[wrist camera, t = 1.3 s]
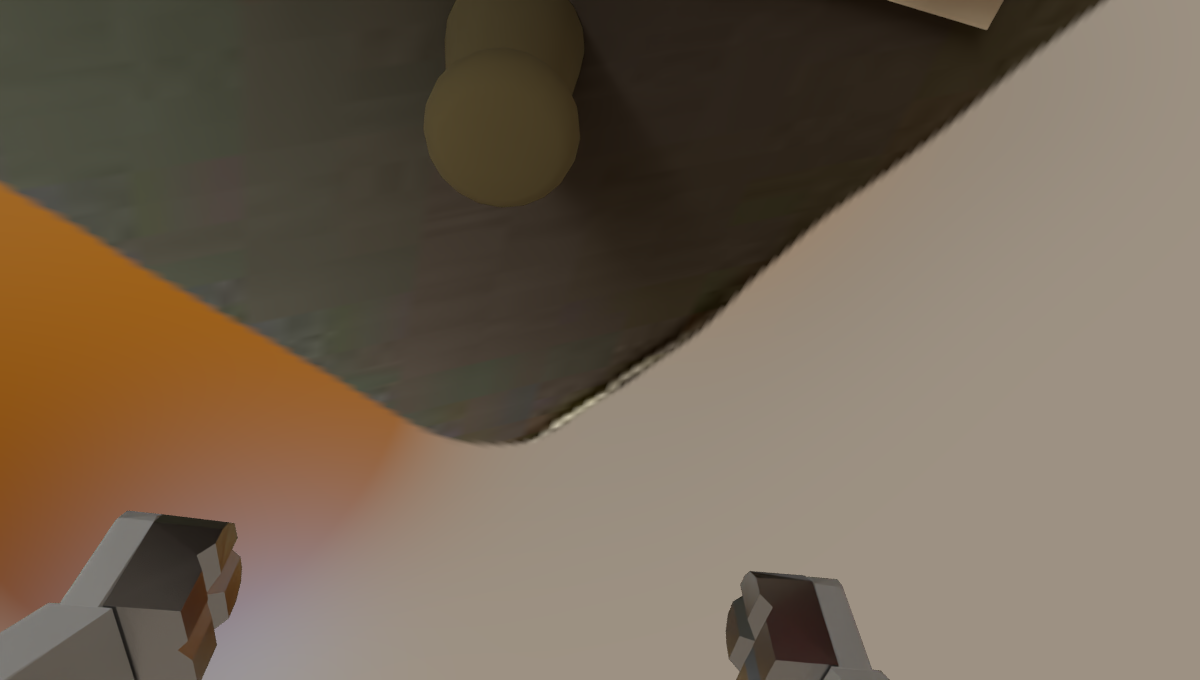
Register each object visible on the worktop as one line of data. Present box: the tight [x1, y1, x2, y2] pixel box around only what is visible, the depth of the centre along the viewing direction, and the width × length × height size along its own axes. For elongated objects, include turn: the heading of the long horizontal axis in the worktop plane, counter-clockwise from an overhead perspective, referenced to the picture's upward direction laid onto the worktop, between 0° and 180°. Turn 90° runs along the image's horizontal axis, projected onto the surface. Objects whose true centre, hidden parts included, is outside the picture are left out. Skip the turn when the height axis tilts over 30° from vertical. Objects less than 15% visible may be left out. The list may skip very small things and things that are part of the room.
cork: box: [423, 0, 585, 208], centre depth 28 cm, size 6×6×11 cm
